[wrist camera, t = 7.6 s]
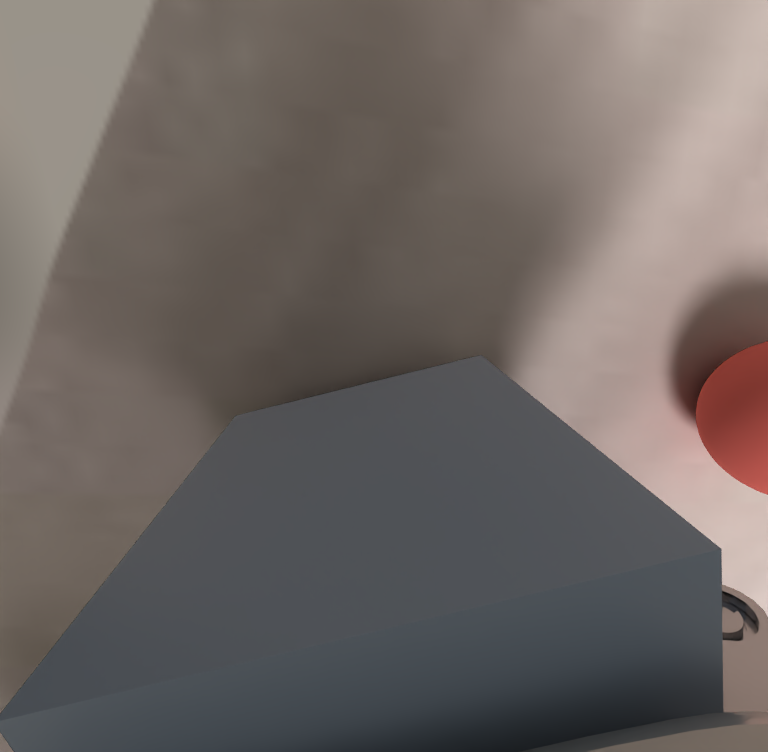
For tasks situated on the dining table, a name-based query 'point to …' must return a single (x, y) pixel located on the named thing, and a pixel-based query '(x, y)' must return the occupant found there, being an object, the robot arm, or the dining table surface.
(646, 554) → the pale blue cube
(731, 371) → the ball
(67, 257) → the dining table surface
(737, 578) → the dining table surface
